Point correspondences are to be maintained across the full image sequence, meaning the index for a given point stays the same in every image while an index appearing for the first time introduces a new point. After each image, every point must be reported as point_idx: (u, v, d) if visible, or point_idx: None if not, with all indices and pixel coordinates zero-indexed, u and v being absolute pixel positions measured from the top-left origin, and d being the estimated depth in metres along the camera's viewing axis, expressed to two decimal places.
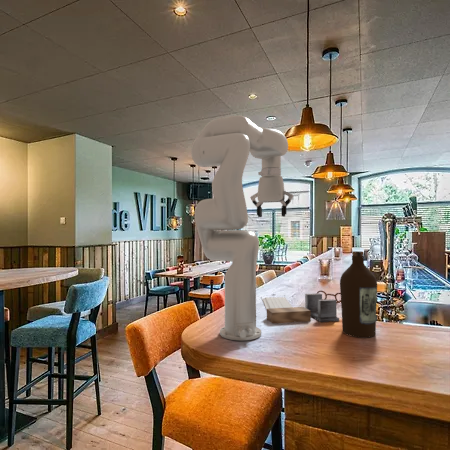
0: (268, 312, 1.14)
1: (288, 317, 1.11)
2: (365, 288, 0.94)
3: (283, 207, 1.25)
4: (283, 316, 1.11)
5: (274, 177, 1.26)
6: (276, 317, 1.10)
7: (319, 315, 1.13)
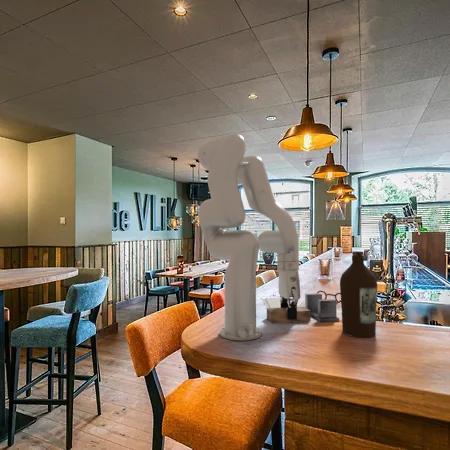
0: (268, 312, 1.14)
1: None
2: (365, 288, 0.94)
3: None
4: (282, 316, 1.11)
5: None
6: (275, 317, 1.10)
7: (319, 315, 1.13)
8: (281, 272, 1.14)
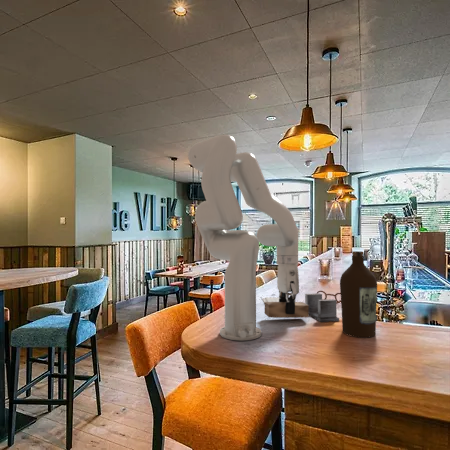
0: (266, 305, 1.14)
1: (285, 310, 1.11)
2: (365, 288, 0.94)
3: None
4: (280, 309, 1.10)
5: None
6: (273, 310, 1.10)
7: (319, 315, 1.13)
8: (280, 266, 1.14)
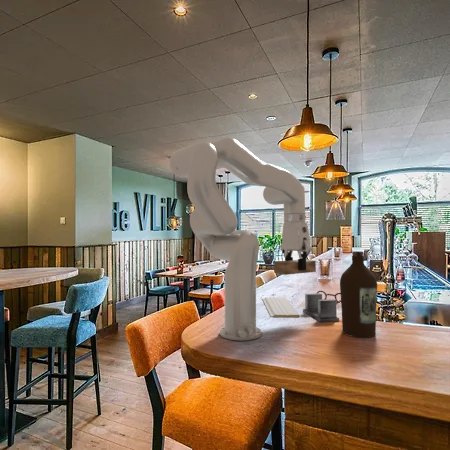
0: (277, 264, 1.14)
1: None
2: (365, 288, 0.94)
3: None
4: (293, 266, 1.12)
5: None
6: (288, 267, 1.11)
7: (319, 315, 1.13)
8: (289, 225, 1.15)
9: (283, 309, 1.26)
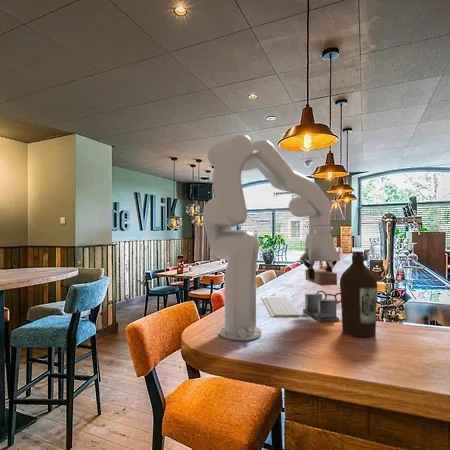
0: (326, 276, 1.13)
1: None
2: (365, 288, 0.94)
3: None
4: None
5: None
6: None
7: (319, 315, 1.13)
8: (323, 236, 1.18)
9: (283, 309, 1.26)
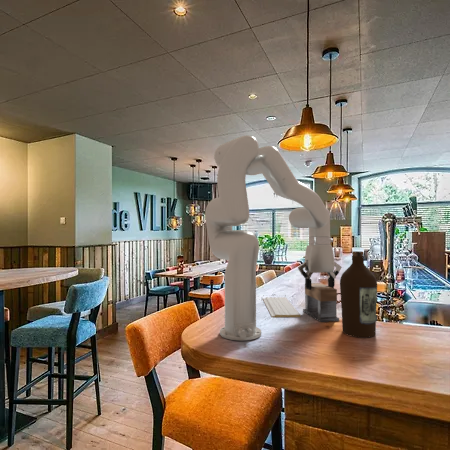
0: (326, 292, 1.12)
1: None
2: (365, 288, 0.94)
3: None
4: None
5: None
6: None
7: (319, 315, 1.13)
8: (323, 248, 1.17)
9: (284, 309, 1.26)
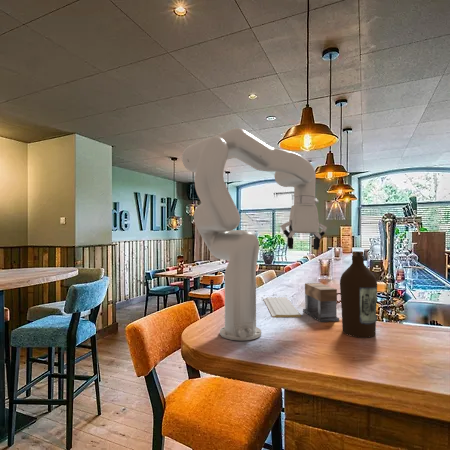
0: (326, 292, 1.12)
1: None
2: (365, 288, 0.94)
3: None
4: None
5: None
6: None
7: (319, 315, 1.13)
8: (307, 207, 1.15)
9: (284, 309, 1.26)
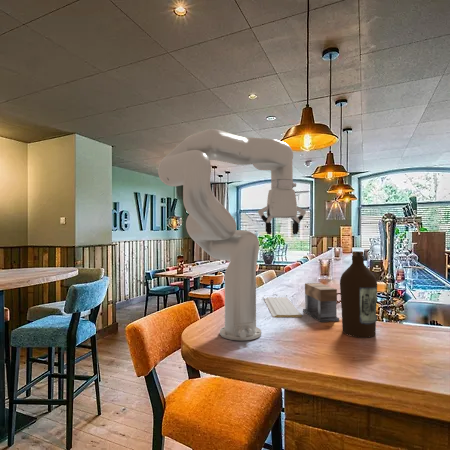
0: (326, 292, 1.12)
1: None
2: (365, 288, 0.94)
3: None
4: None
5: None
6: None
7: (319, 315, 1.13)
8: (284, 191, 1.12)
9: (285, 309, 1.26)
